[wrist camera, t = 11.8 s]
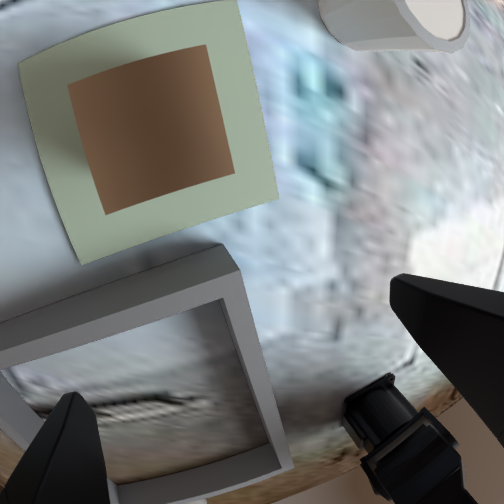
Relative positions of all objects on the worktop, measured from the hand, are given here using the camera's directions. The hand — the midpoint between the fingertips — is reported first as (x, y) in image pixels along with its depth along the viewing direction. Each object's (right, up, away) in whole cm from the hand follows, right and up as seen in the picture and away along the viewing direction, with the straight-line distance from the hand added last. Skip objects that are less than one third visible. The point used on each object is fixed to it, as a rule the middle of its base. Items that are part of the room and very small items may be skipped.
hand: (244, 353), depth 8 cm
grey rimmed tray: (-8, -11, +15) cm, 20 cm away
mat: (-5, +9, +7) cm, 13 cm away
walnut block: (-5, +9, +7) cm, 12 cm away
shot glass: (+7, +18, +8) cm, 21 cm away
